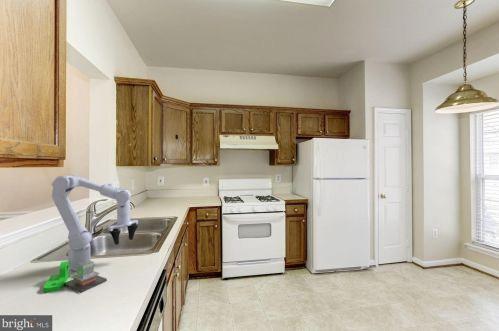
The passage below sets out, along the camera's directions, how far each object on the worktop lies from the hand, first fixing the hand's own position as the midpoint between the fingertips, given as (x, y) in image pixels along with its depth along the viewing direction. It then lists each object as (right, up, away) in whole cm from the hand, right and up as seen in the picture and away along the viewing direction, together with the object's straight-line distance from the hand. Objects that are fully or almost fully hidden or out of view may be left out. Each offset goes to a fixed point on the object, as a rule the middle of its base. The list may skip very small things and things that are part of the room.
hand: (123, 241), depth 116 cm
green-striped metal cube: (-5, -7, -20) cm, 22 cm away
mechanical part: (-17, -11, -21) cm, 29 cm away
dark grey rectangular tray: (-5, -11, -20) cm, 23 cm away
